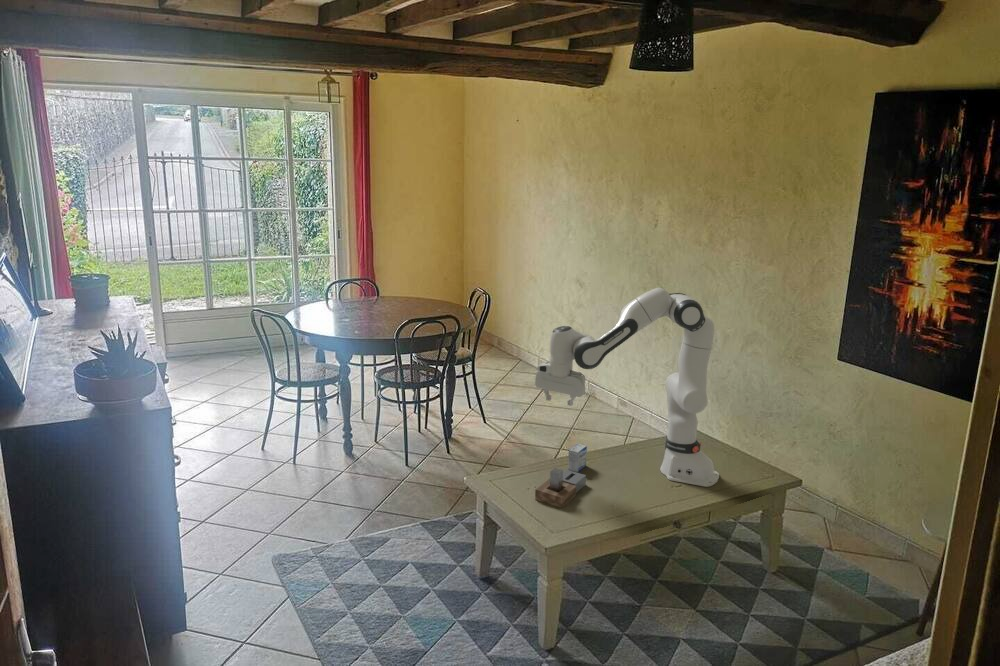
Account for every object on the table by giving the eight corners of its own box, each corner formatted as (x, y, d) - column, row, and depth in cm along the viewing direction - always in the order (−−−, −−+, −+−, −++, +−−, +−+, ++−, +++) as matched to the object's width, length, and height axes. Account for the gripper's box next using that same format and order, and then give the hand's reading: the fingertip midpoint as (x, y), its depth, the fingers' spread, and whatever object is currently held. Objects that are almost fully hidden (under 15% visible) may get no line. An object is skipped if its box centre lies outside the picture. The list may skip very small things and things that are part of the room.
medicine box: (577, 472, 281) (578, 452, 279) (567, 470, 284) (568, 449, 282) (586, 465, 288) (587, 445, 286) (576, 462, 290) (577, 443, 288)
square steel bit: (562, 495, 262) (563, 470, 259) (557, 498, 259) (558, 473, 256) (553, 492, 263) (554, 467, 261) (549, 496, 261) (550, 471, 258)
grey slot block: (585, 484, 272) (586, 475, 270) (574, 494, 264) (575, 484, 263) (564, 478, 276) (565, 469, 275) (553, 487, 269) (553, 477, 268)
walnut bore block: (575, 495, 263) (576, 485, 262) (561, 507, 254) (562, 497, 253) (549, 487, 269) (550, 478, 268) (535, 499, 260) (535, 489, 259)
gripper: (589, 371, 268) (587, 405, 272) (541, 361, 279) (540, 395, 282) (581, 375, 263) (579, 410, 266) (533, 365, 274) (532, 399, 277)
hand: (559, 402), depth 274 cm, fingers open, 8 cm apart
